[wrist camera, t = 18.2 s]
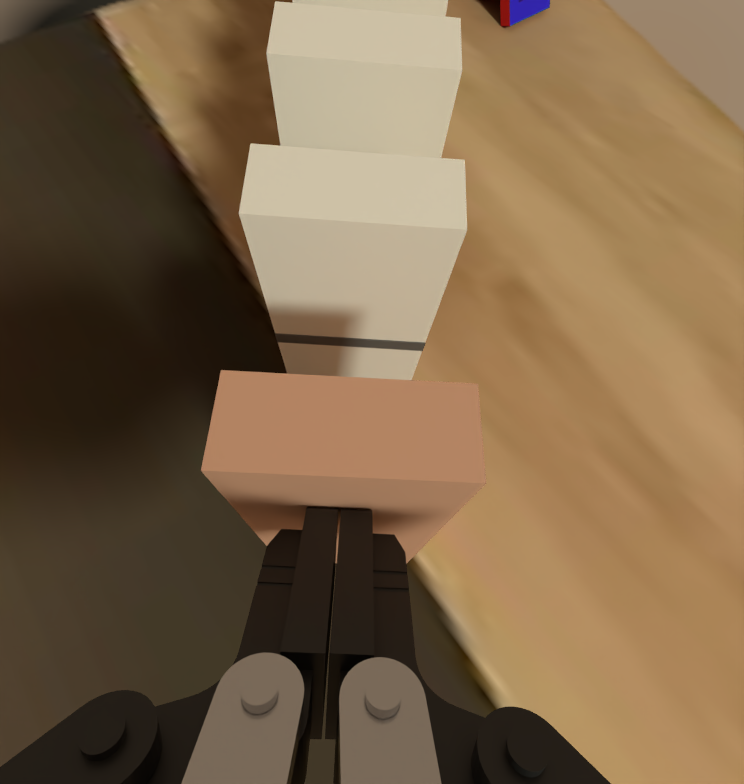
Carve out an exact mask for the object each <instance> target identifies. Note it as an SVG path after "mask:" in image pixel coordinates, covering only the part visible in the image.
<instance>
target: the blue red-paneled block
mask: <svg viewBox="0 0 744 784" xmlns="http://www.w3.org/2000/svg"><path fill="white" fill-rule="evenodd" d="M548 8H550V0H500V11H501V26H512V25H514V24H516V23H518V22H520V21H522V20H524V19H526V18H529V17H531V16H533V15H535V14H537V13H539V12H541V11H543V10H545V9H548Z"/></svg>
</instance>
